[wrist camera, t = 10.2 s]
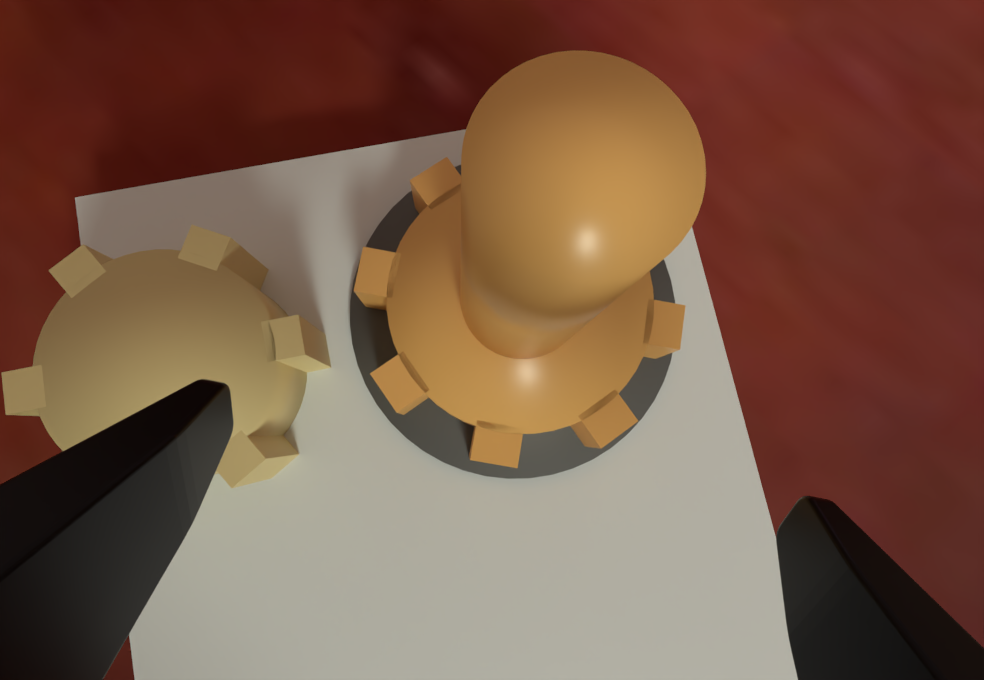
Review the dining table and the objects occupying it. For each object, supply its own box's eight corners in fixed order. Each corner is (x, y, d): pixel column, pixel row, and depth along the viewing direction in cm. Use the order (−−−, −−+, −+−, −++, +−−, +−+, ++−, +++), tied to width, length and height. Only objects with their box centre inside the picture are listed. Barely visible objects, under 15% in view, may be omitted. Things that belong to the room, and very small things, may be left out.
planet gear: (478, 524, 17) (506, 658, 7) (308, 275, 18) (115, 75, 8) (716, 349, 18) (1035, 248, 8) (547, 122, 19) (646, -224, 9)
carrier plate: (167, 825, 17) (62, 967, 12) (89, 218, 19) (-21, 153, 15) (786, 663, 18) (891, 738, 14) (642, 119, 21) (692, 35, 16)
